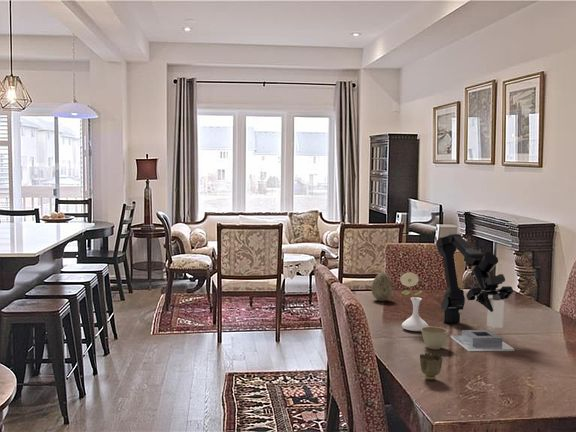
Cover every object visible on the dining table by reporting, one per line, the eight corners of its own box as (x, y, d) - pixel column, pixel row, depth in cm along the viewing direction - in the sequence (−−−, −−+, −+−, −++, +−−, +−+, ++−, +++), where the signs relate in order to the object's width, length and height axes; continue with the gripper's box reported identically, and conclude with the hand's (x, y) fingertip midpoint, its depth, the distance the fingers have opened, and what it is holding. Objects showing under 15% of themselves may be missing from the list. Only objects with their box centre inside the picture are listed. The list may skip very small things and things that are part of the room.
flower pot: (448, 345, 249) (448, 327, 249) (445, 352, 240) (446, 334, 239) (422, 343, 252) (423, 325, 252) (419, 349, 243) (419, 331, 242)
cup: (416, 375, 213) (417, 352, 212) (437, 375, 213) (438, 352, 213) (422, 383, 205) (423, 359, 205) (444, 383, 206) (445, 359, 205)
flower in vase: (431, 328, 275) (433, 271, 273) (425, 334, 265) (427, 275, 263) (401, 324, 281) (403, 269, 279) (394, 330, 270) (396, 273, 268)
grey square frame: (450, 337, 262) (451, 327, 262) (492, 336, 264) (493, 327, 263) (468, 351, 242) (469, 341, 242) (514, 350, 244) (514, 340, 243)
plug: (486, 325, 255) (488, 294, 254) (496, 324, 256) (498, 294, 255) (493, 328, 251) (494, 297, 250) (502, 327, 252) (504, 296, 251)
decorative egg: (393, 303, 325) (394, 274, 323) (372, 302, 325) (373, 274, 324) (390, 298, 335) (391, 270, 334) (370, 298, 335) (370, 270, 334)
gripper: (471, 267, 253) (485, 300, 243) (512, 266, 258) (527, 299, 248) (460, 283, 261) (473, 316, 251) (499, 282, 266) (514, 314, 256)
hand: (497, 311), depth 252 cm, fingers closed on plug, 4 cm apart
